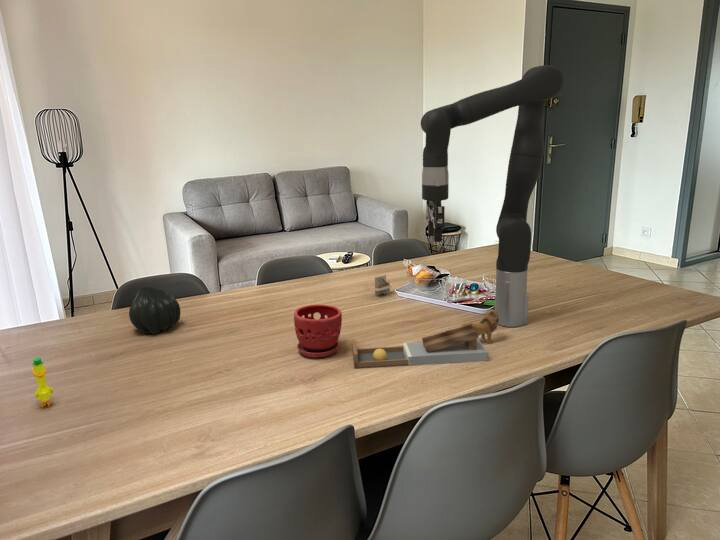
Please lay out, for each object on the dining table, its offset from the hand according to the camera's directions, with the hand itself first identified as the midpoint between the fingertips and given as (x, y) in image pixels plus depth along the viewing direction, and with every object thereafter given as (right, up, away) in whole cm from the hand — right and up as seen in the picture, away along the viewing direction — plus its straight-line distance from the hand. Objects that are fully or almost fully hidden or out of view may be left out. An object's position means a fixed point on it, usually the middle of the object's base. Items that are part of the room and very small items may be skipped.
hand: (434, 238), depth 159 cm
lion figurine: (+12, -30, -4) cm, 32 cm away
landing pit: (-17, -33, -13) cm, 39 cm away
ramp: (+2, -30, -13) cm, 33 cm away
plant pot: (-33, -32, -6) cm, 47 cm away
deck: (+1, -32, -12) cm, 35 cm away
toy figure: (-95, -41, -31) cm, 108 cm away
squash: (-87, -28, +15) cm, 92 cm away
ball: (-17, -32, -15) cm, 39 cm away
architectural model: (-14, -19, +42) cm, 48 cm away
